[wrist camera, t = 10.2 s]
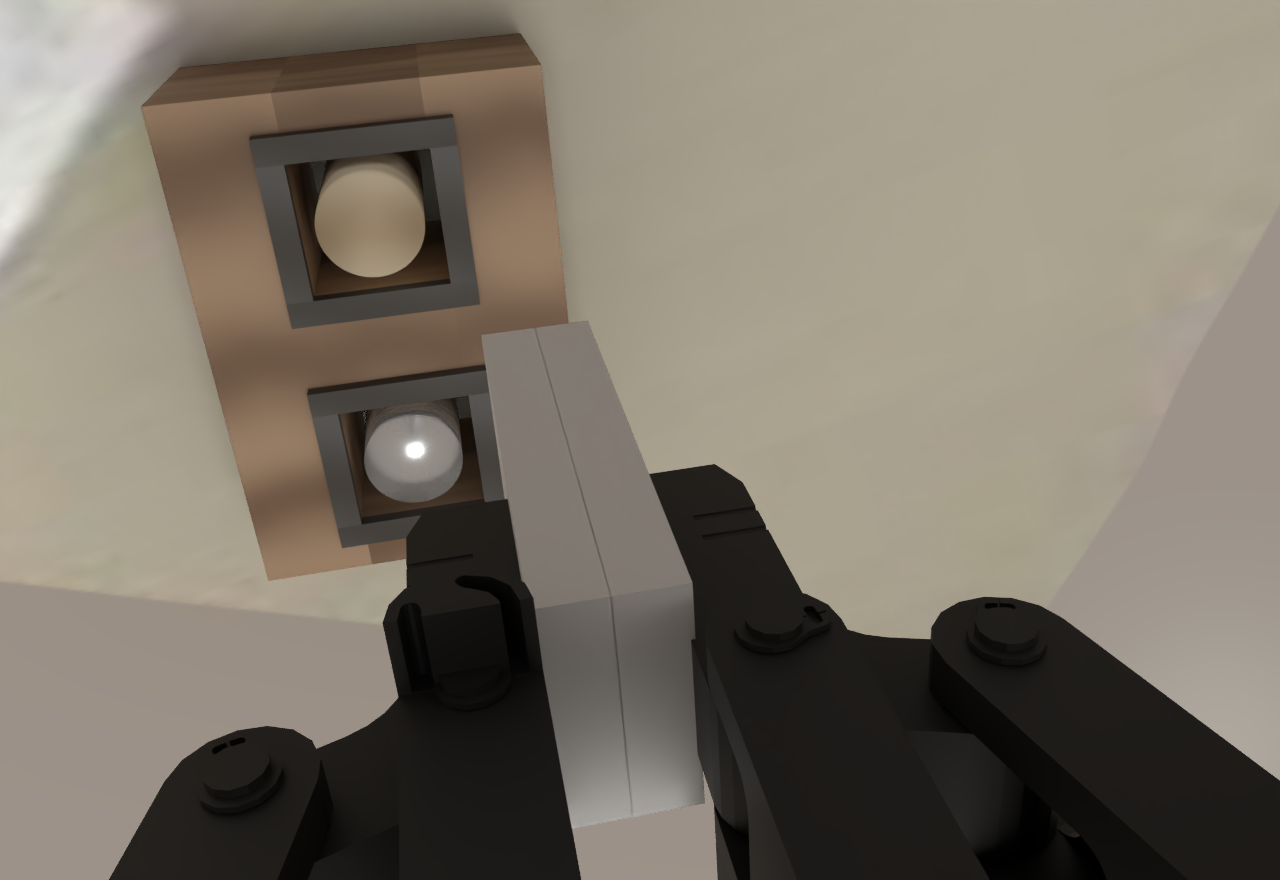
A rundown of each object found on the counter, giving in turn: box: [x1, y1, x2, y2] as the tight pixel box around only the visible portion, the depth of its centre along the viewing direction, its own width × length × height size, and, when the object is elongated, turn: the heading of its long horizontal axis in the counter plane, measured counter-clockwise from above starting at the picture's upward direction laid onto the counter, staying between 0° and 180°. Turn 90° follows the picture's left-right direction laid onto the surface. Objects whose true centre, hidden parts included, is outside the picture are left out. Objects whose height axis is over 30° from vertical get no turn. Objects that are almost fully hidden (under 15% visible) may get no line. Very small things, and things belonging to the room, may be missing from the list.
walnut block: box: [141, 34, 568, 581], centre depth 49 cm, size 20×14×9 cm
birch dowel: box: [315, 150, 425, 277], centre depth 46 cm, size 4×4×8 cm
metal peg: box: [364, 397, 463, 503], centre depth 51 cm, size 4×4×8 cm
